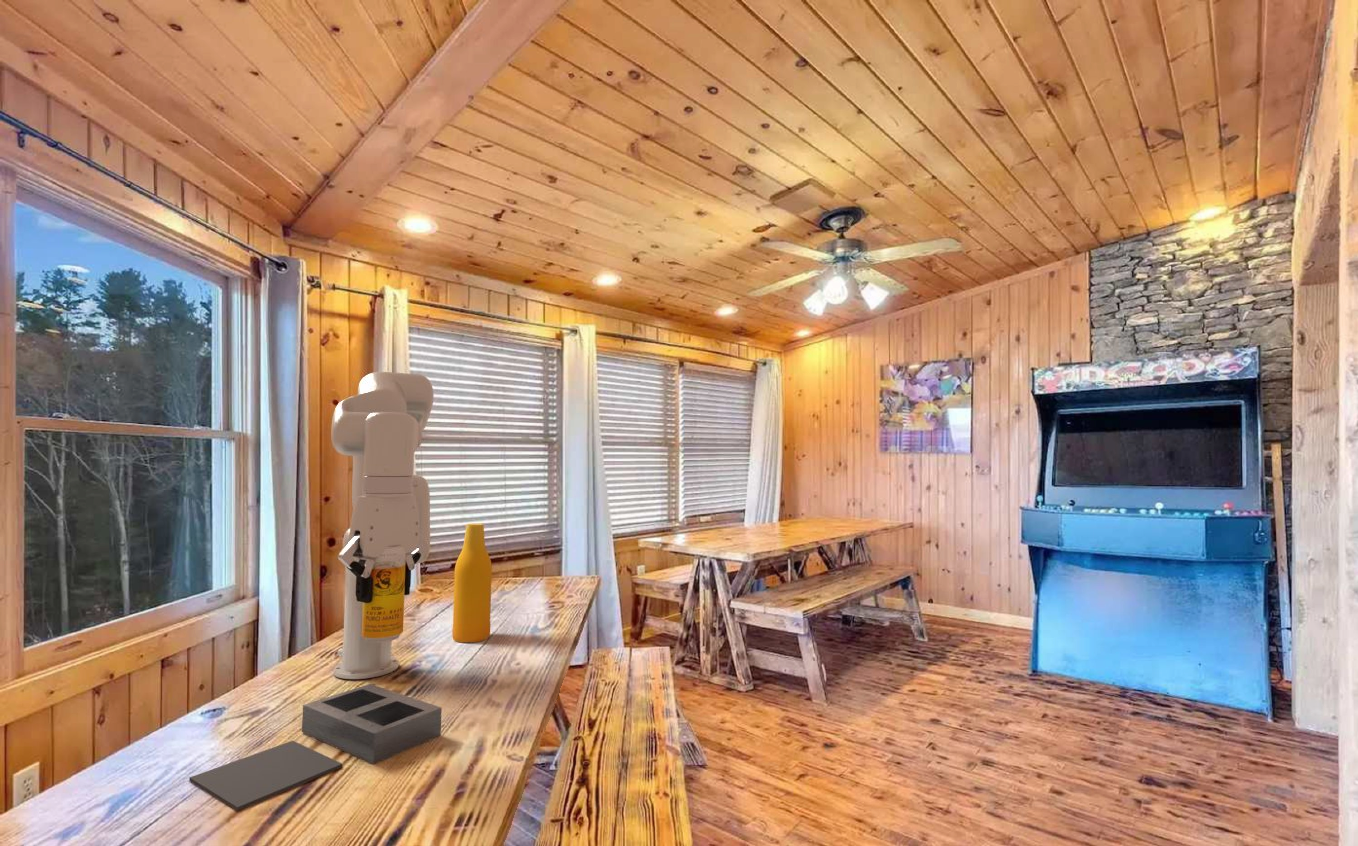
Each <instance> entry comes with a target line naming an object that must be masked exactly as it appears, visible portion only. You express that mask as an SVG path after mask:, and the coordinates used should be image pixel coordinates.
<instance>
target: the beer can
mask: <svg viewBox="0 0 1358 846" xmlns="http://www.w3.org/2000/svg"><path fill="white" fill-rule="evenodd" d="M405 562H406V551H405V550H404V548H403V547H402V545H401V546H394V547H386V550H385V551H384V552H383V553H382V554H381V556H380V557H379V558H377V559H375V563H374V565H373V568H372V570H371V573H370V576H369V577H373V595H372V601H371V603H364V602H363V616H362V636H363V637H364V638H365V640H366V641H367V642H374V643H378V642H387V641H392V642H393V641H395V640H398V639H399V638H400V636H401V635H402V634H403V632H404V611H405V595H404V590H405Z"/></svg>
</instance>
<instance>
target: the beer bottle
mask: <svg viewBox="0 0 1358 846" xmlns="http://www.w3.org/2000/svg"><path fill="white" fill-rule="evenodd" d="M484 529H485V528H484V523H474V522H473V523H467V524H466V526H465V533H464V540H463V545H462V550H461V552H460V554H459V556H458V558H457V560H456V563H455V566H454V580H453V581H454V583H453V587H454V588H453V613H452V631H451V634H452V639H453V640H454V641H455V642H456V641H458V642H457V643H461V642H473V643H479V642H483V641H485V639H486V640H487V639H488V638H489V637H490V634H491V613H492V612H491V610H492V609H491V607H492V605H491V604H492V579H493V578H492V577H493V567H492V560H491V557H490V555H489V553H488V551H487V548H486V541H485V530H484ZM478 641H479V642H478Z"/></svg>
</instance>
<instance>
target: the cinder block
mask: <svg viewBox="0 0 1358 846" xmlns="http://www.w3.org/2000/svg"><path fill="white" fill-rule="evenodd" d="M442 709H443V708H442V706H438V705H434V704H432V703H430V702H426V701H423V700H419V699H417V698H414V697H411V696H408V695H405V694H402V693H399V692H396V691H393V690H390V689H387V688H384V687H381V686H378V685H375V684H373V683H368V684H366V685H362V686H359V687H356V688H352V689H350V690H346V691H344V692H339V693H337V694H334V695H330V696H328V697H325V698H321V699H317V700H315V701H312V702H308V703H305V704H303V705H302V719H301V722H302V723H301V733H302V732H303V733H302V734H304V735H306V736H308V735H309V737H311V738H313V739H315V738H316V739H315V740H317V741H320V742H322V743H324V742H325V743H324V744H326V743H327V744H326V745H329V746H331V745H332V746H331V747H333V746H334V748H335V747H337V748H336V749H338V750H340V751H343V752H345V753H346V754H349V755H351V756H353V757H356V758H358V759H361V760H363V761H364V762H367V763H370V764H371V765H374V764H377V763H379V762H382V761H384V760H387V759H389V758H392V757H394V756H395V755H398V754H401V753H404V752H405V751H407V750H409V749H413V748H414V747H417V746H419V745H421V744H423V743H426V742H428V741H430V740H433V739H435V738H437V737H439V736H441V733H442Z"/></svg>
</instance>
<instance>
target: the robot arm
mask: <svg viewBox="0 0 1358 846" xmlns="http://www.w3.org/2000/svg"><path fill="white" fill-rule="evenodd" d="M432 385H433V384H432V383H431V381H430V380H429V378H427V376H425V375H422V374H417V373H403V372H393V371H392V372H391V371H389V372H388V371H375V372H374V371H373V372H371V373H369V374H367V375H365V376H364V377H362V379H361V380H360V381H359V384H358V388H357V394H356V395H352V396H349V397H348V398H347V397H346V398H345V399H343V400H342V401H340V402H338V404H337V406H336V407H335V409H334V411H333V414H332V419H331V430H330V431H331V432H330V433H331V434H330V438H331V443H332V447H333V448H334V450H335V451H336V452H337V453H338V454H341V455H343V456H350V457H351V456H352V462H353V463H352V485H351V486H352V487H351V491H352V492H351V499H352V500H351V501H352V502H351V503H352V508H353V510H352V513H351V514H352V516H351V518H350V519H351V520H350V526H349V528H348V529H347V530H346V531H345V533H344V534H343V539H342V550H341V551H339V553H338V555H337V559H338V561H340V562H341V563H342V564H343V565H344V572H345V581H344V582H345V583H344V584H345V585H344V588H345V589H344V590H345V591H344V593H345V594H344V600H345V601H344V613H343V614H344V617H343V640H342V642H343V643H342V648H339V649H338V650H337V655H338V656H341V662H339V663H337V664H336V665H335V666H334V667H333V676H335V677H337V678H339V679H344V680H365V679H372V678H376V677H381V676H384V675H387V674H391V673H392V672H393V671H396V670H397V669H398V667H399V665H400V663H399V659H397V658H396V657H393V656H392V644H393V643H392V642H393V640H392V641H387V642H378V643H374V642H367V641H366V640H365V638H364V637H363V636H362V616H363V602H364V603H371V601H372V595H373V577H369V576H370V573H371V570H372V568H373V565H374V563H375V559H377V558H379V557H380V556H381V554H382V553H383V552H384V551H385V550H386V547H394V546H401V545H402V547H403V548H404V550H405V551H406V562H405V590H404V596H409V595H410V594H411V585H412V584H411V583H412V571H413V570H414V569H415V568H416V565H419V564H421V563H423V562H425V561H426V560H428V557H429V554H430V550H431V495H430V487H429V483H428V481H427V480H426V479H425V477H424V476H422V475H419V474H414V467H415V465H414V459H415V453H416V451H417V449H418V448H419V447H421V445H422V438H423V434H422V433H423V431H424V430H425V428H426V426H427V425H428V420H429V417H430V415H431V413H432V412H431V411H432V408H433V404H434V395H435V394H434V389H433V386H432Z"/></svg>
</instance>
